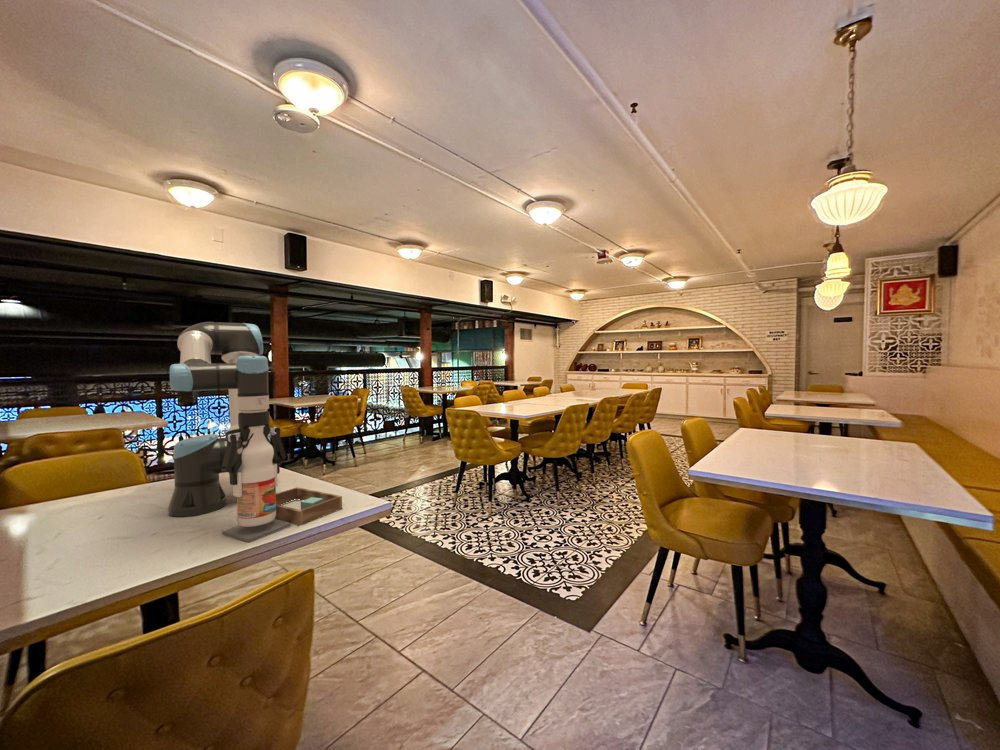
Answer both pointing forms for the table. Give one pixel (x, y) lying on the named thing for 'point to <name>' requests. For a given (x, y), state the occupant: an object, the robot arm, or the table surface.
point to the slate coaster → (256, 530)
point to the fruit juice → (257, 481)
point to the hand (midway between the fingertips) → (256, 490)
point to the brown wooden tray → (309, 513)
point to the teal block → (310, 502)
